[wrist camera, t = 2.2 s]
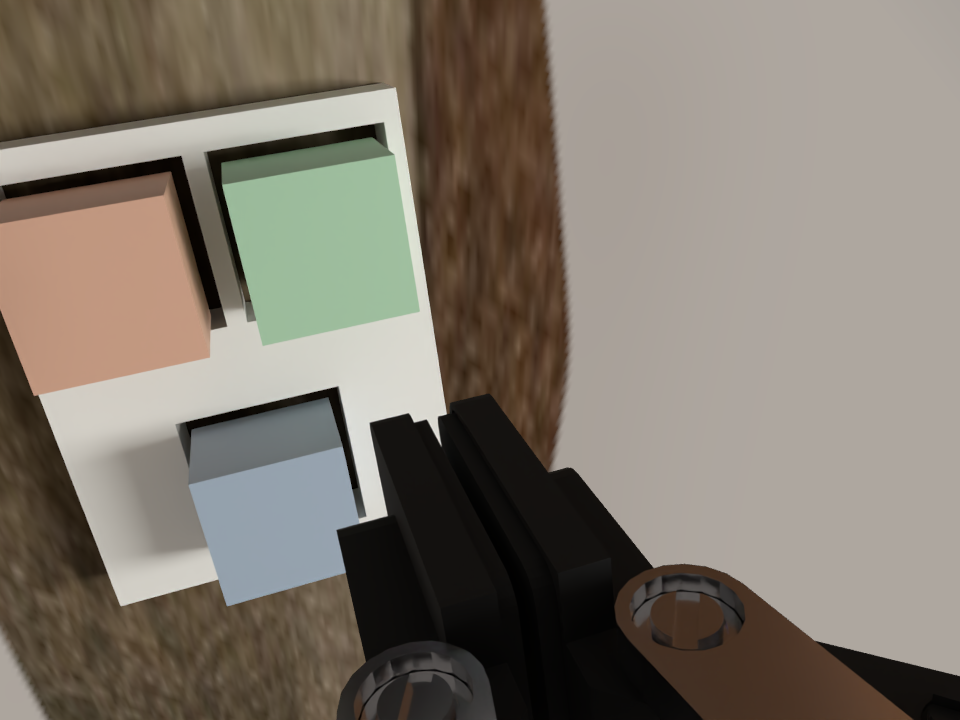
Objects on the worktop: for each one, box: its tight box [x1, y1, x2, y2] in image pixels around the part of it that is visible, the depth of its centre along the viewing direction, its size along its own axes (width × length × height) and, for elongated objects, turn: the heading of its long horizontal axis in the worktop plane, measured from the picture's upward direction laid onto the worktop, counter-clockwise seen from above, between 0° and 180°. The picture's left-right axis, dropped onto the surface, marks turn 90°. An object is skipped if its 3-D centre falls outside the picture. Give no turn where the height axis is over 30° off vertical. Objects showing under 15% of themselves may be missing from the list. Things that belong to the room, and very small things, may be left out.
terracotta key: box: [0, 171, 211, 396], centre depth 22 cm, size 4×4×4 cm
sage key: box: [221, 137, 420, 346], centre depth 23 cm, size 4×4×4 cm
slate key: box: [188, 397, 360, 606], centre depth 26 cm, size 4×4×4 cm
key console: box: [0, 83, 446, 606], centre depth 27 cm, size 15×12×2 cm
